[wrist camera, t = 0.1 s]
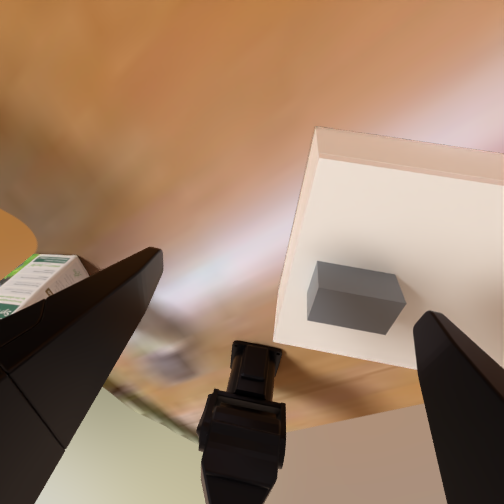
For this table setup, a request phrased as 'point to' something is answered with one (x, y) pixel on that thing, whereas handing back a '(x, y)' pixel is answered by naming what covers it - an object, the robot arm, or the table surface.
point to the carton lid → (394, 260)
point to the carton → (391, 153)
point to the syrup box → (38, 280)
